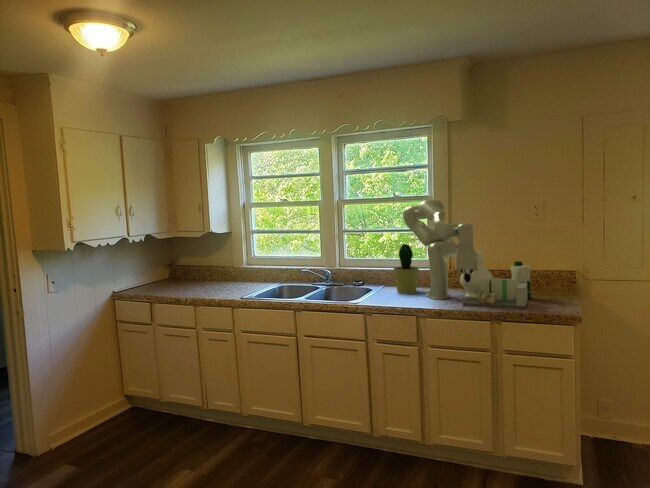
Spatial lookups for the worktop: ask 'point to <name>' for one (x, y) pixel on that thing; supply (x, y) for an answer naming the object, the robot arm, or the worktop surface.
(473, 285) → the decorative vase
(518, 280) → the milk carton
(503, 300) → the gauge frame
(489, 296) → the gauge slider
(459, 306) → the worktop surface
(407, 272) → the potted cactus
